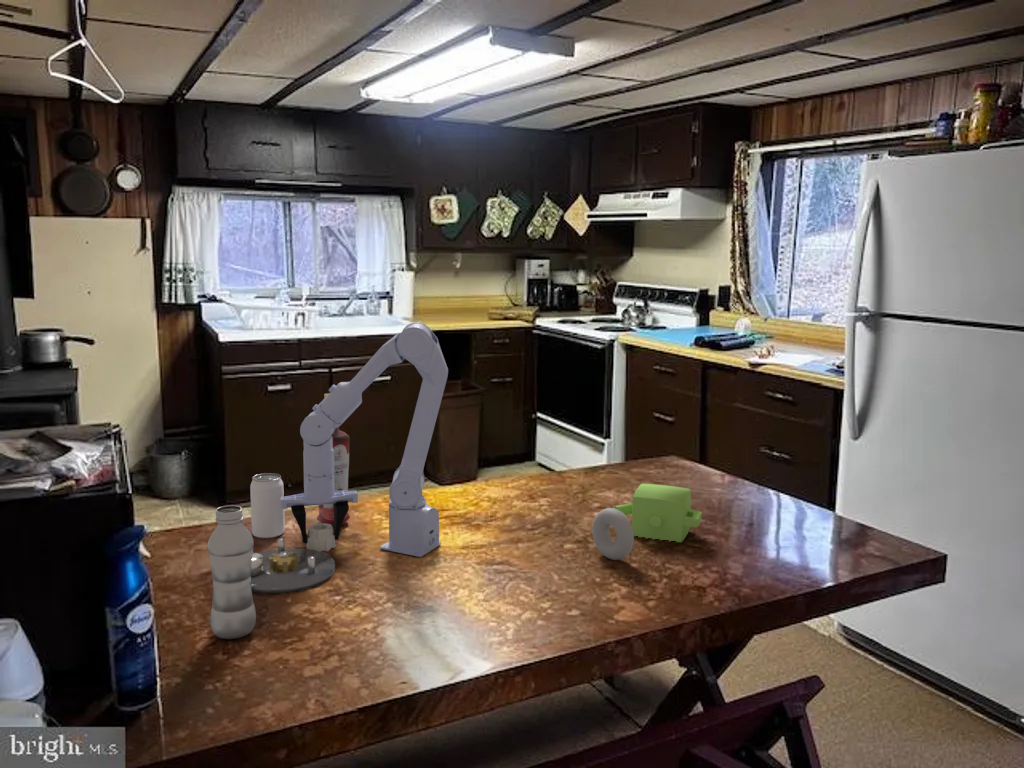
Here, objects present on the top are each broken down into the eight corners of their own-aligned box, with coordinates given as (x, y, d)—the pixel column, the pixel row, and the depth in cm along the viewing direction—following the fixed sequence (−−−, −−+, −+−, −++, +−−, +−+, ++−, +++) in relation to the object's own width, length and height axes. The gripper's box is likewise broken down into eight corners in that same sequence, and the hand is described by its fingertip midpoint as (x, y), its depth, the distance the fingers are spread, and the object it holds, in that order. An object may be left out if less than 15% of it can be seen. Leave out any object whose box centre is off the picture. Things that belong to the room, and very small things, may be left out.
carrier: (354, 563, 152) (354, 543, 152) (284, 605, 135) (283, 582, 134) (273, 546, 160) (272, 526, 160) (196, 582, 143) (195, 561, 142)
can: (275, 540, 164) (273, 482, 161) (246, 537, 165) (243, 480, 163) (290, 529, 170) (288, 473, 168) (261, 526, 171) (259, 471, 169)
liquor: (325, 531, 169) (322, 399, 164) (310, 522, 174) (306, 393, 169) (357, 524, 173) (355, 395, 168) (341, 515, 179) (338, 389, 174)
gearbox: (608, 537, 170) (608, 494, 168) (620, 521, 179) (620, 479, 177) (695, 549, 163) (696, 504, 161) (703, 531, 172) (704, 489, 170)
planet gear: (340, 544, 162) (340, 525, 161) (323, 553, 157) (322, 534, 156) (318, 539, 164) (317, 520, 163) (300, 548, 159) (300, 529, 159)
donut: (636, 564, 155) (639, 514, 153) (623, 569, 152) (626, 517, 151) (600, 548, 162) (602, 500, 161) (587, 552, 160) (589, 503, 159)
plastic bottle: (217, 625, 128) (211, 502, 124) (261, 624, 128) (256, 502, 125) (205, 645, 121) (198, 516, 118) (252, 644, 122) (246, 516, 118)
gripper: (353, 464, 164) (354, 529, 167) (278, 470, 159) (280, 536, 162) (359, 474, 158) (360, 541, 160) (281, 480, 153) (283, 549, 155)
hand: (320, 539), depth 160 cm, fingers closed on planet gear, 5 cm apart
